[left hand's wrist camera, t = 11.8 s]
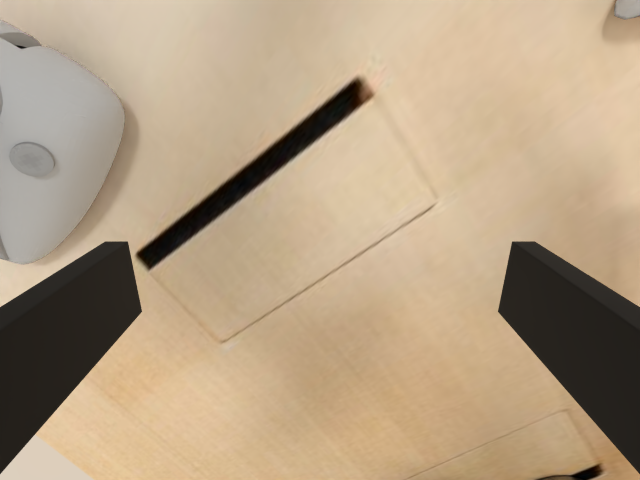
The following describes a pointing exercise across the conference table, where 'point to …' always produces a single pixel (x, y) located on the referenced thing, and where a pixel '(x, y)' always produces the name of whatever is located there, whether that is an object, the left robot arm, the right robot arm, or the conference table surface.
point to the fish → (627, 9)
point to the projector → (49, 144)
